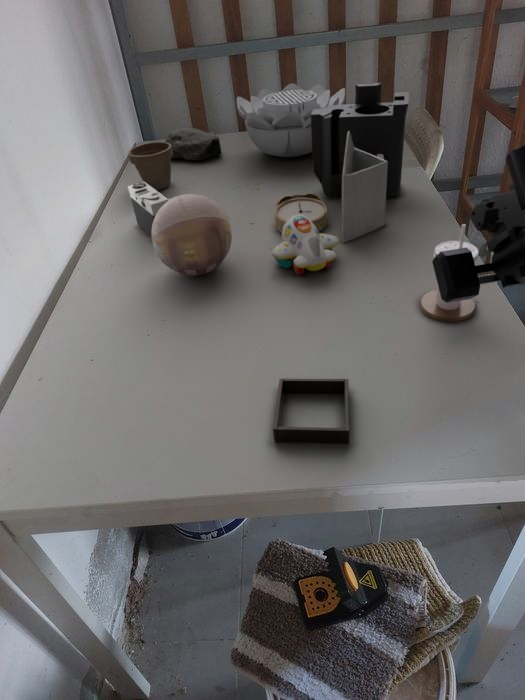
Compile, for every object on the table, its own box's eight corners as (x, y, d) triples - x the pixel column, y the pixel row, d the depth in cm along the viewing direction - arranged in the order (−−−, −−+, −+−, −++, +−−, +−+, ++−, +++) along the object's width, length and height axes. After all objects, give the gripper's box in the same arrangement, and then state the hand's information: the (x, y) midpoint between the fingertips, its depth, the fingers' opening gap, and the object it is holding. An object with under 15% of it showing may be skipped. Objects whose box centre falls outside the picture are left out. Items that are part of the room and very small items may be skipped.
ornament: (248, 255, 105) (239, 183, 96) (216, 295, 94) (202, 218, 85) (184, 248, 110) (169, 179, 101) (146, 285, 100) (126, 212, 90)
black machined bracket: (401, 199, 118) (409, 95, 104) (312, 199, 123) (308, 100, 109) (402, 179, 127) (410, 81, 113) (319, 180, 132) (316, 86, 118)
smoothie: (452, 319, 81) (465, 238, 72) (419, 303, 85) (428, 224, 76) (477, 303, 83) (493, 222, 75) (444, 288, 88) (455, 210, 79)
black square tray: (348, 392, 72) (348, 378, 70) (349, 444, 65) (349, 430, 63) (280, 391, 73) (279, 378, 72) (274, 442, 66) (272, 429, 64)
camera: (193, 235, 114) (184, 191, 108) (159, 247, 112) (148, 203, 105) (168, 215, 124) (159, 174, 118) (136, 225, 121) (125, 184, 115)
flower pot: (130, 187, 141) (120, 149, 135) (166, 174, 146) (158, 138, 140) (149, 198, 134) (139, 159, 127) (186, 184, 138) (179, 146, 132)
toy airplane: (284, 248, 88) (258, 211, 99) (285, 290, 94) (261, 250, 105) (355, 232, 91) (322, 197, 102) (352, 274, 97) (321, 236, 108)
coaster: (469, 292, 87) (469, 288, 87) (479, 321, 81) (480, 317, 81) (417, 293, 89) (418, 289, 88) (423, 322, 82) (424, 318, 82)
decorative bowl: (363, 158, 141) (365, 99, 131) (257, 178, 137) (251, 118, 128) (327, 129, 164) (326, 76, 154) (236, 145, 160) (229, 92, 151)
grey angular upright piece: (381, 243, 103) (386, 144, 91) (341, 242, 105) (341, 145, 93) (386, 208, 115) (391, 117, 103) (351, 208, 117) (351, 118, 105)
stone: (156, 157, 151) (157, 122, 150) (166, 165, 159) (167, 131, 158) (216, 158, 148) (218, 122, 147) (223, 166, 157) (225, 132, 156)
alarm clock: (276, 227, 107) (271, 187, 117) (278, 246, 111) (273, 206, 121) (330, 221, 107) (321, 181, 116) (330, 240, 110) (321, 200, 120)
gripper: (600, 167, 60) (524, 222, 76) (449, 190, 58) (402, 241, 74) (628, 258, 59) (544, 295, 74) (473, 284, 57) (420, 316, 72)
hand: (478, 285), depth 73 cm, fingers open, 9 cm apart
